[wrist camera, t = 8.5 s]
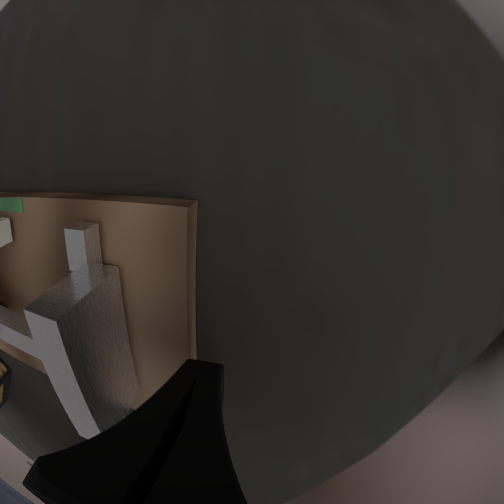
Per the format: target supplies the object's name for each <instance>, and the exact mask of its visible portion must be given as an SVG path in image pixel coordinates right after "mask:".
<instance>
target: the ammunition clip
mask: <svg viewBox="0 0 504 504" xmlns="http://www.w3.org/2000/svg"><path fill="white" fill-rule="evenodd" d="M11 372H12V371H11V370H10V369H9V368H8V367H7V365H6V364H5V363H4V362H3V361H2V360H1V359H0V408H1V407H2V405H3V404H4V403H5V402H6V401H7V396H8V389H9V383H10V377H11Z"/></svg>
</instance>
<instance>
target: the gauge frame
mask: <svg viewBox="0 0 504 504" xmlns="http://www.w3.org/2000/svg"><path fill="white" fill-rule="evenodd" d="M197 205H198V200H187V199H174V198H161V197H147V196H131V195H114V194H92V193H64V192H0V218H1V217H4V218H9V219H10V227H11V234H12V240H13V241H12V242H10V243H8V244H6V245H4V246H2V247H0V305H1V306H3V307H6V308H8V309H10V310H12V311H15V312H17V313H19V314H21V315H24V316H25V313H24V310H23V309H24V308H25V307H27V306H28V305H29V304H30V303H32V302H33V301H34V300H36V299H37V298H38V297H39V296H41V295H42V294H43V293H45V292H46V291H47V290H49V289H50V288H51V287H53V286H54V285H55V284H57V283H58V282H59V281H61V280H62V279H63V278H65V277H66V276H68V275H69V274H70V273H72V272H73V271H70V269H69V263H68V256H67V249H66V241H65V233H64V228H66V227H68V226H70V225H72V224H74V223H76V222H78V221H84V222H94V223H99V236H100V247H101V257H102V264H104V265H109V266H115V267H119V275H120V284H121V292H122V300H123V307H124V314H125V320H126V326H127V332H128V338H129V343H130V348H131V353H132V358H133V363H134V368H135V372H136V377H137V381H138V385H139V389H140V390H139V392H138V394H137V396H136V398H135V400H134V401H133V403H132V405H131V407H130V408H132V409H135V410H136V409H137V408H138V407H139V406H141V405H142V404H143V403H144V402H145V401H146V400H148V399H149V398H150V397H151V396H152V395H153V394H154V393H155V392H156V391H157V390H158V389H160V388H161V387H162V386H163V385H164V384H165V383H166V382H167V381H168V380H169V379H170V378H171V376H172V375H173V374H174V373H175V372H176V371H177V370H178V369H179V368H180V367H181V365H182V364H183V363H184V362H185V361H186V360H187V359H189V358H190V359H195V360H197V357H196V233H197ZM0 349H1V350H3V351H4V352H6V353H8V354H10V355H11V356H13V357H15V358H17V359H18V360H20V361H22V362H24V363H26V364H27V365H29V366H31V367H33V368H35V369H37V370H39V371H41V372H43V373H45V374H47V372H46V369H45V367H44V365H43V362H42V360H40V359H38V358H36V357H34V356H32V355H30V354H28V353H26V352H24V351H22V350H20V349H18V348H16V347H14V346H13V345H11V344H9V343H7V342H5V341H4V340H2V339H0ZM47 375H48V374H47Z"/></svg>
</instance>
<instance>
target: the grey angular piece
mask: <svg viewBox="0 0 504 504" xmlns="http://www.w3.org/2000/svg"><path fill="white" fill-rule="evenodd" d="M64 233H65V241H66V249H67V256H68V263H69V269H70V271H73V272H72V273H70V274H69V275H68V276H66V277H65V278H63V279H62V280H61V281H59V282H58V283H57V284H55V285H54V286H53V287H51V288H50V289H49V290H47V291H46V292H45V293H43V294H42V295H41V296H39V297H38V298H37V299H36V300H34V301H33V302H32V303H30V304H29V305H28V306H27V307H25V308H24V309H23V310H24V313H25V316H24V315H21V314H19V313H17V312H15V311H12V310H10V309H8V308H6V307H3V306H1V305H0V339H2V340H4V341H5V342H7V343H9V344H11V345H13V346H14V347H16V348H18V349H20V350H22V351H24V352H26V353H28V354H30V355H32V356H34V357H36V358H38V359H40V360H42V362H43V365H44V367H45V369H46V372H47V374H48V376H49V378H50V381H51V383H52V385H53V387H54V389H55V391H56V393H57V395H58V397H59V399H60V401H61V403H62V405H63V407H64V409H65V411H66V412H67V414H68V416H69V418H70V420H71V421H72V423H73V425H74V427H75V428H76V430H77V432H78V433H79V435H80V436H82V437H84V438H86V439H90V438H92V437H94V436H96V435H98V434H99V433H101V432H103V431H105V430H106V429H108V428H110V427H111V426H113V425H115V424H116V423H118V422H119V421H121V420H122V419H124V418H125V416H126V414H127V413H128V411H129V409H130V407H131V405H132V403H133V401H134V400H135V398H136V396H137V394H138V392H139V390H140V389H139V385H138V381H137V377H136V372H135V368H134V363H133V358H132V353H131V348H130V343H129V338H128V332H127V326H126V320H125V314H124V307H123V300H122V292H121V284H120V275H119V267H115V266H109V265H104V264H102V257H101V247H100V236H99V223H94V222H84V221H78V222H76V223H74V224H72V225H70V226H68V227H66V228H64Z"/></svg>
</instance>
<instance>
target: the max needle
mask: <svg viewBox="0 0 504 504" xmlns="http://www.w3.org/2000/svg"><path fill="white" fill-rule="evenodd" d="M12 241H13V240H12V234H11V227H10V219H9V218H4V217H1V218H0V247H2V246H4V245H6V244H8V243H10V242H12Z"/></svg>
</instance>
